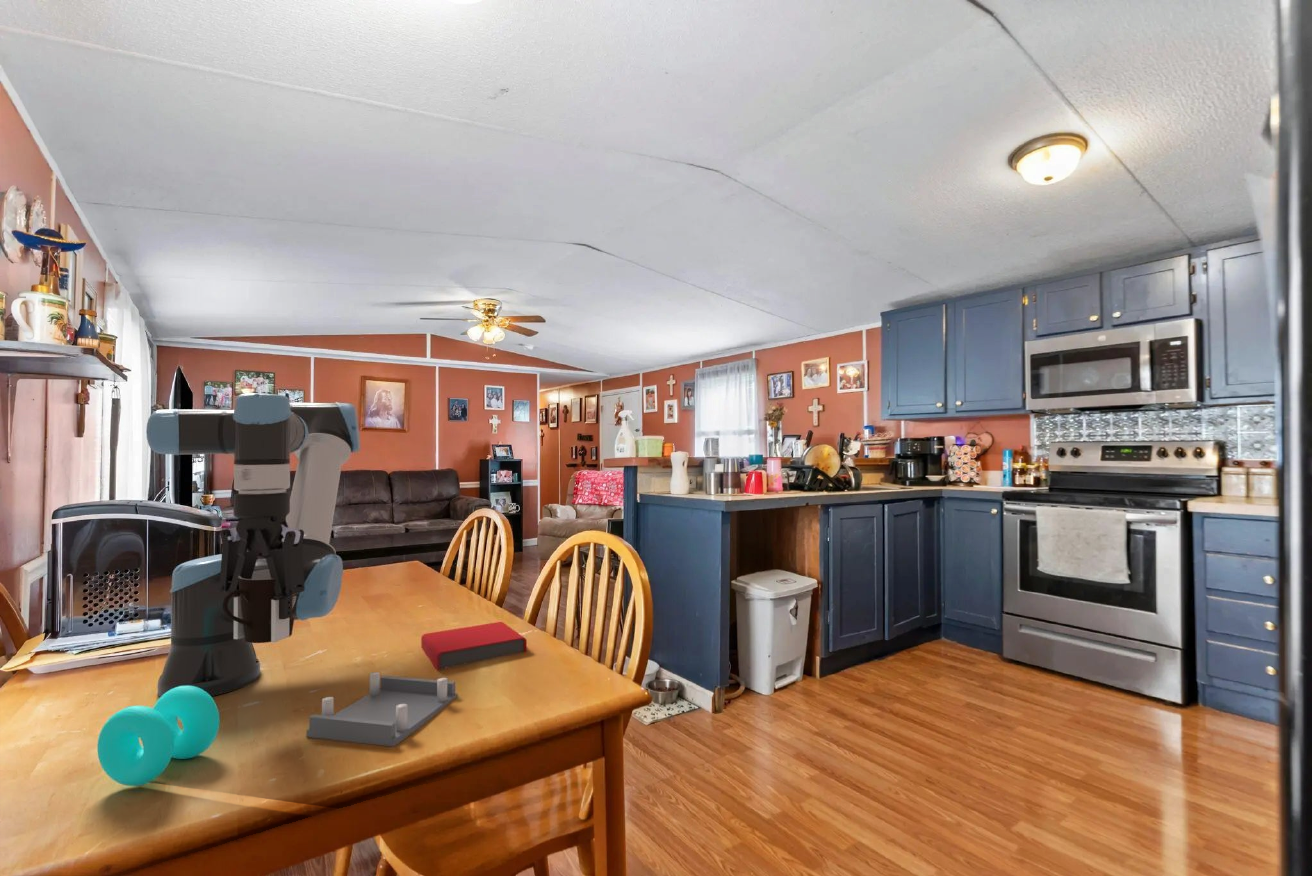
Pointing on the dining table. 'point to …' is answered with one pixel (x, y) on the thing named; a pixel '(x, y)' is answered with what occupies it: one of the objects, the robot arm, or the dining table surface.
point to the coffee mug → (257, 606)
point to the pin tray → (383, 711)
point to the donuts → (157, 735)
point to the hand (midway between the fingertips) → (261, 637)
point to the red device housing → (471, 644)
